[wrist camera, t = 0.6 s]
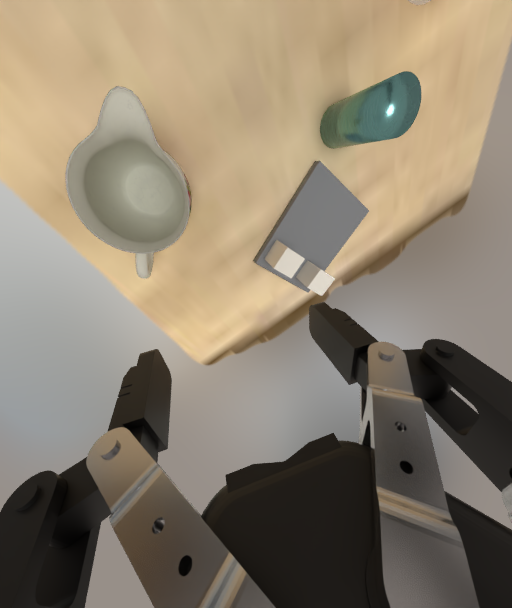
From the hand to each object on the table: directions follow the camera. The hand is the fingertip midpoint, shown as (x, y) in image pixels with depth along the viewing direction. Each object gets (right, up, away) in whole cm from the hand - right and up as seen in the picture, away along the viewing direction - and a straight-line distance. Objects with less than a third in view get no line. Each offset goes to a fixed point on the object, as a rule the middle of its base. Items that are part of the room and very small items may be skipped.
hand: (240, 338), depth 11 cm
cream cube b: (+5, +11, +29) cm, 31 cm away
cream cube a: (+11, +8, +33) cm, 36 cm away
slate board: (+11, +15, +30) cm, 36 cm away
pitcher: (-15, +17, +21) cm, 31 cm away
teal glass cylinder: (+13, +29, +23) cm, 40 cm away
